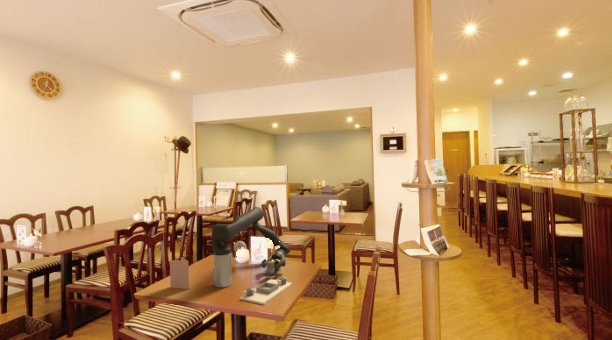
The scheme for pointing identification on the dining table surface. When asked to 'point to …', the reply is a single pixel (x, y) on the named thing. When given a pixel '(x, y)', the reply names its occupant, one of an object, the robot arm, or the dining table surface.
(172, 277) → the greeting card
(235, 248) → the donut
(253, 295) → the stand
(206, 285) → the dining table surface
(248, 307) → the dining table surface
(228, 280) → the robot arm
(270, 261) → the cylinder
